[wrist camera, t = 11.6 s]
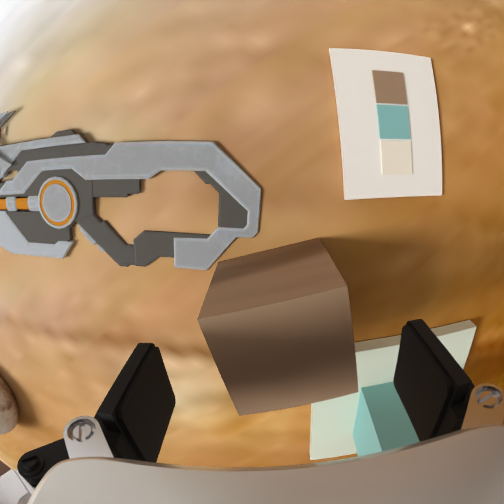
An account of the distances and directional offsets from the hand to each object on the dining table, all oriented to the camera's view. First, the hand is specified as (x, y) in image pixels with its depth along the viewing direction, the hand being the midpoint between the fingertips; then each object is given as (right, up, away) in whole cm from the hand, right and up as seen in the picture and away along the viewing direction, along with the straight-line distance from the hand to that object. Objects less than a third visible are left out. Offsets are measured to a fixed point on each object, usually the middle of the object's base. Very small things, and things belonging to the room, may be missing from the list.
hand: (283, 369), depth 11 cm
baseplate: (+9, -7, +9) cm, 15 cm away
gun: (-20, +9, +5) cm, 23 cm away
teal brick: (+9, -7, +8) cm, 14 cm away
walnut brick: (0, +2, +6) cm, 7 cm away
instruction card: (+6, +11, +3) cm, 13 cm away
